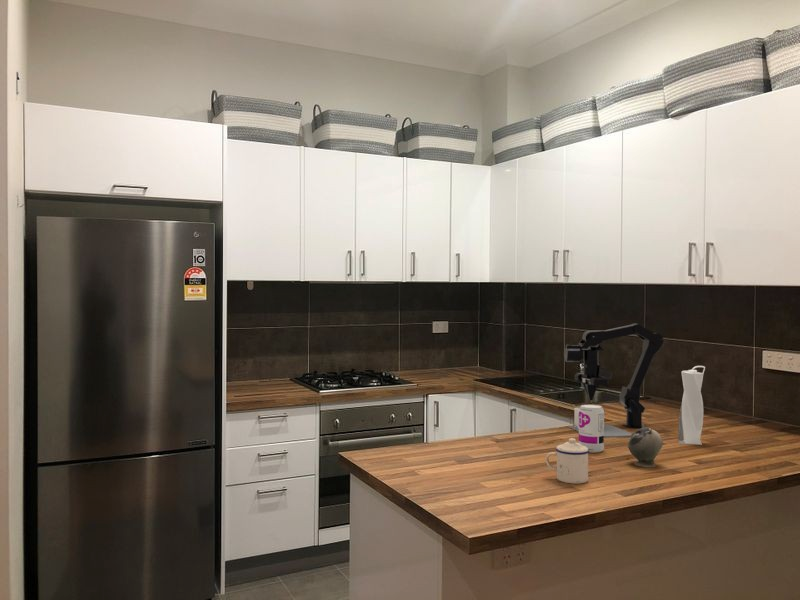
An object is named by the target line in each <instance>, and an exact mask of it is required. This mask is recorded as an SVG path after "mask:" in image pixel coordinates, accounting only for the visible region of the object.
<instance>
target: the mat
mask: <svg viewBox="0 0 800 600" xmlns="http://www.w3.org/2000/svg"><path fill="white" fill-rule="evenodd" d="M574 426H575V425H567V428H569V427H571V428H572V430H573V429H574V430H573V431H575V430H576V432H578V433H579V429H578V428H577V427H574ZM571 428H570V429H571ZM632 434H633V432H629V431H627V430H624V429H621V428H619V427H617V426H614V425H611V424H609V425H608V424H604V438H621V437H622V438H625V437H631V435H632Z"/></svg>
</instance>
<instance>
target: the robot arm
mask: <svg viewBox="0 0 800 600" xmlns="http://www.w3.org/2000/svg"><path fill="white" fill-rule="evenodd" d="M630 335H635V336H637V337H638V338H639V339H640V340H642V352H641V355H640V357H639V360H638V362H637V364H636V367H635V369H634V372H633V374H632V377H631V379H630V381H629V384H628V385H627V386H626V387H625V386H621V387H622V388H621V391H620V393H619V394H618V396H619V402H620V403H621V405H622V406H623V408H624V409H625V410H626V413H625V414H626V417H625V421H626V423H622V426H625V427H627V426H628V428H631V429H632V428H633V429H635V428H636V427H638V428H642V427H643V426H644V424H642V423H643V419H642V418H643V415H642V414H643V413H644V412H645V410H646V408H645V407H644V405H643V404H642V403H641V402H640V400H641V399H640V398H641V389H642V386H643V384H644V381H645V379H646V375H647V373H648V371H649V368H650V366H651V363H652V361H653V359H654V356H656V355H657V354H658V352H659V351H660V350H661V348H662V346H663V345H664V343H665V338H664V336H662V334H661V333H657V332H653V331H651V330H650V329H647V328H645V327H644V326H642V325H641V324H639V323H631V324H628V325H624V326H619V327H618V326H617V327H614V328H610V329H605V330H602V329H601V330H586V331H584V332H583V334H582V338H581V340H580V341H579V342H578V343H577V345H575V344H573V345H572V344H571V345H570V344H566V345H565V348H564V353H563V355H564V361H565V362H566V363H569V362H570V363H575V362H577V363H578V362H579V363H580V362H581V360H583V363H581V367H583V372H576V373H575V374H574V381H579V380H580V381H581V382H580V384H581V386H582V387H583V390H584V391H585V394H586V395H587V398H588V400H589V401H593V400H594V398H595V395H596V391H597V389H598V388H599V387H600V386H608V385H609V381H610V380H611V379H612V376H613V372H612V371H608V370H606V369H605V367H602V366H601V364H599V352H603V351H604V350H605V349H604V348H602V346H601V345H600V344H602V343H604V342H606V341H607V340H611V339H616V338H621V337H626V336H630Z"/></svg>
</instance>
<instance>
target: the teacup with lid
mask: <svg viewBox="0 0 800 600" xmlns="http://www.w3.org/2000/svg"><path fill="white" fill-rule="evenodd" d="M555 451H556V452H555ZM555 451H554V452H553V451H551V452H548V453H547V454H546V456H545V462H546V465H547V466H548V468H549V469H551V470H554V471H556V479H557V481H559V482H561V483H566V484H576V485H577V484H584V483H587V482H588V481H589V453H590V452H589V450H588V448H587V447H585V446H582V445H581V444H579V442H577V440H576V438H574V437H572V438H568V441H566V442H564V443H561V444H558V445H557V446H556V448H555ZM550 456H556V466H554V465H552V464H551V463H550V461H549V457H550Z"/></svg>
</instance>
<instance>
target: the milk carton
mask: <svg viewBox="0 0 800 600" xmlns="http://www.w3.org/2000/svg"><path fill="white" fill-rule="evenodd" d="M579 409H580V407H574V417H573V418H574V426H576V427H577V428H578V429H579Z"/></svg>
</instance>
